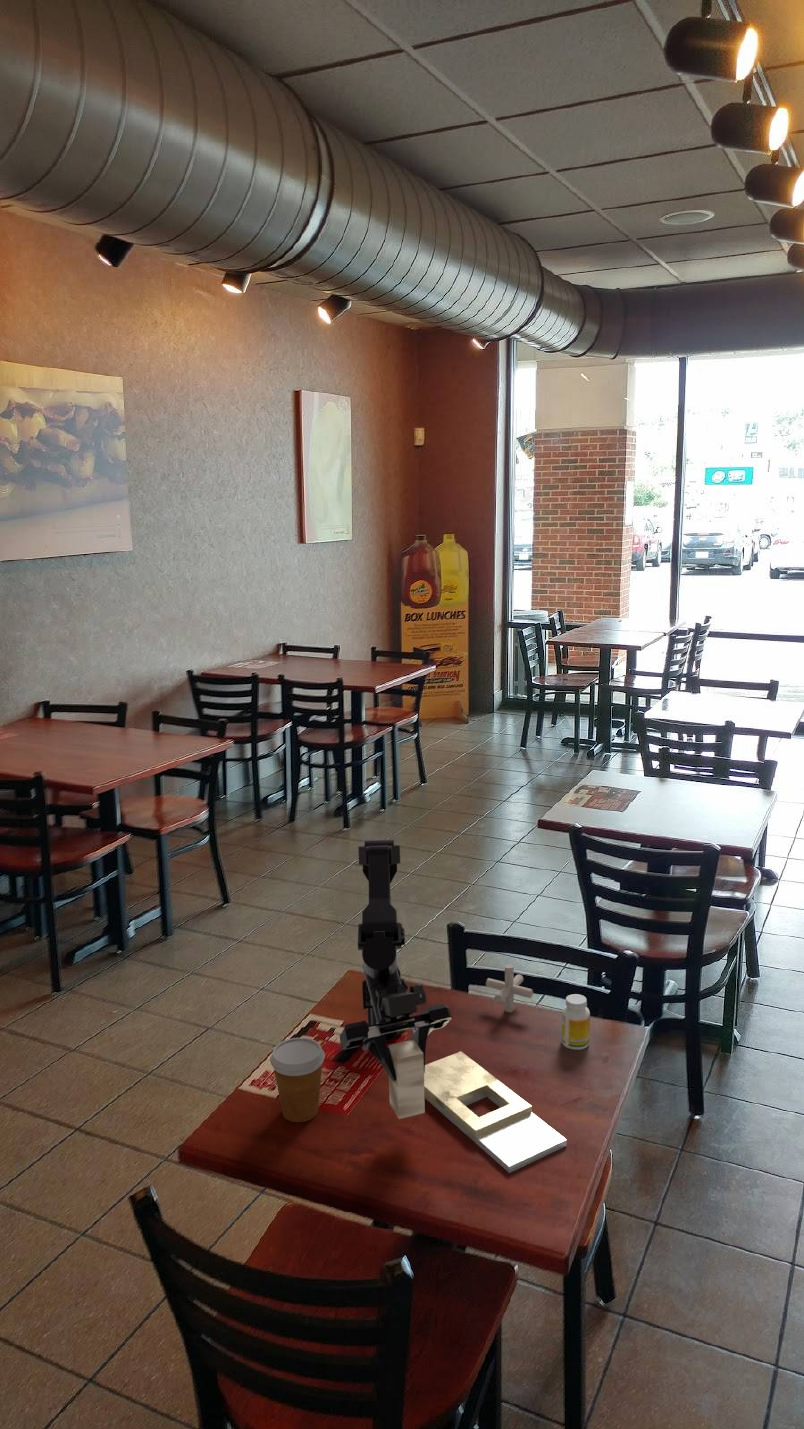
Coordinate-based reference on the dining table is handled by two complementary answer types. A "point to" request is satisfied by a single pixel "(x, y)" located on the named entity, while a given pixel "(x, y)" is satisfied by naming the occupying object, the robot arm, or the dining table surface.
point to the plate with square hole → (499, 1133)
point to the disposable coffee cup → (298, 1077)
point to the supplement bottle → (575, 1022)
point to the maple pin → (407, 1079)
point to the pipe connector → (509, 988)
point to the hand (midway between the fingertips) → (409, 1077)
